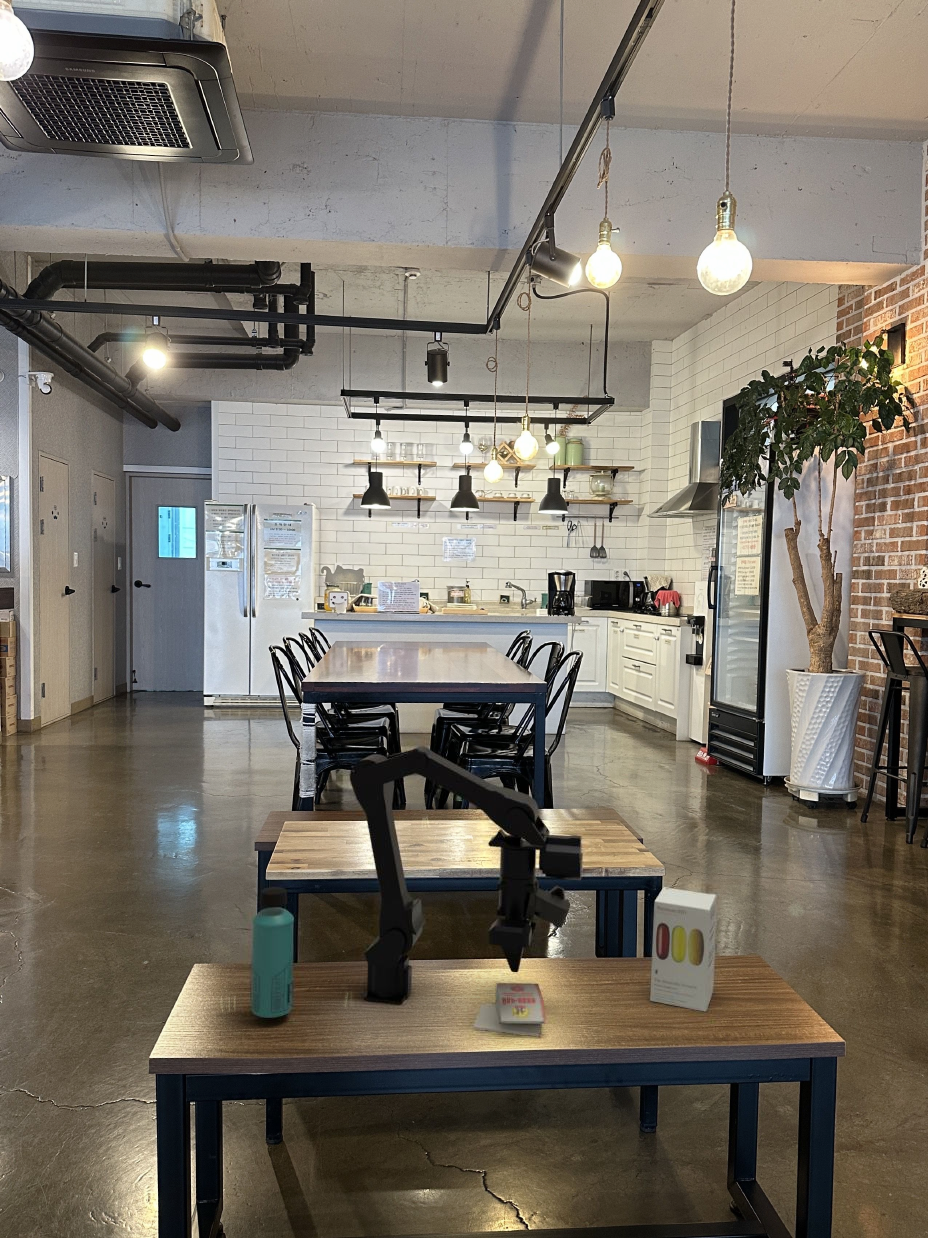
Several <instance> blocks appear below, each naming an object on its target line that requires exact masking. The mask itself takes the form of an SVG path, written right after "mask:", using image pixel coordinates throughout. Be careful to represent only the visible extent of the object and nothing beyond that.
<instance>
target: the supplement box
mask: <svg viewBox="0 0 928 1238" xmlns="http://www.w3.org/2000/svg"><path fill="white" fill-rule="evenodd" d="M717 898H718V897H717V894H714V893H704V892H697V891H691V890H685V889H678V888H677V889H676V888H670V887H667V886H663V888H662V889H661V891H660V892H659V894H658V895H657V896H656V899H655V900H654V905H653V906H654V907H653V923H652V924H653V927H652V928H653V930H652V950H651V953H652V954H651V971H650V972H651V973H650V974H651V976H650V994H649V995H650V997H649V1001H650V1002H656V1003H660V1004H664V1005H671V1006H675V1007H681V1008H685V1009H690V1010H694V1011H701V1012H707V1011H708V1008H709V1006H710V1002H711V999H712V995H713V993H714V983H715V981H714V975H715V955H716V953H715V950H716V946H715V945H716V933H717V929H716V927H717V922H716V921H717V900H718V899H717Z"/></svg>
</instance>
